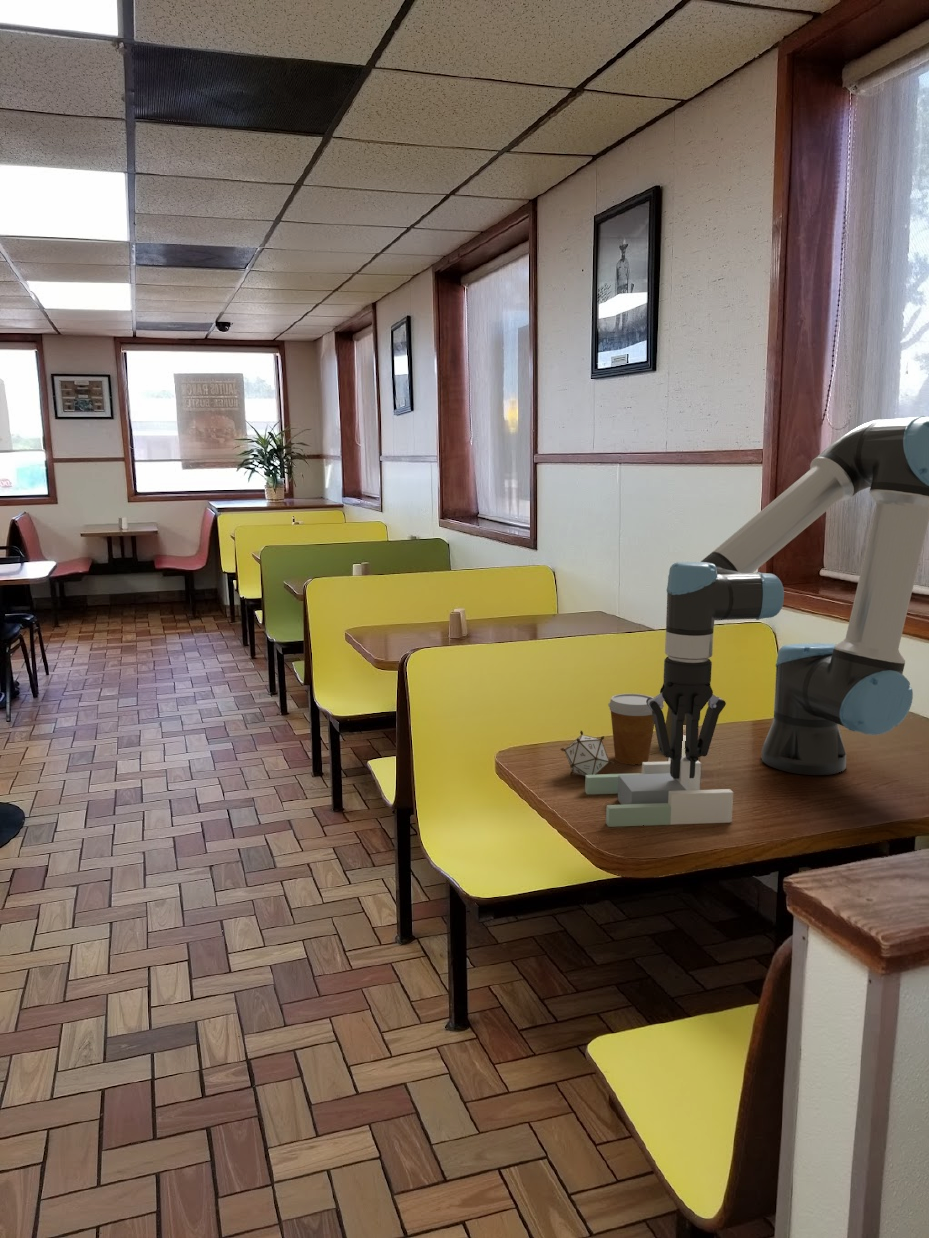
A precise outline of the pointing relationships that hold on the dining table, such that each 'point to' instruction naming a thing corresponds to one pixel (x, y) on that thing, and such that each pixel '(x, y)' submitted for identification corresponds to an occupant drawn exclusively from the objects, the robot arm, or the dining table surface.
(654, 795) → the slate block
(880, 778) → the dining table surface
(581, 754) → the game die
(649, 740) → the disposable coffee cup
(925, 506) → the robot arm
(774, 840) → the dining table surface
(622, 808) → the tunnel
